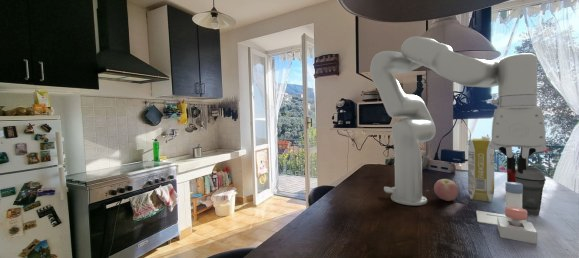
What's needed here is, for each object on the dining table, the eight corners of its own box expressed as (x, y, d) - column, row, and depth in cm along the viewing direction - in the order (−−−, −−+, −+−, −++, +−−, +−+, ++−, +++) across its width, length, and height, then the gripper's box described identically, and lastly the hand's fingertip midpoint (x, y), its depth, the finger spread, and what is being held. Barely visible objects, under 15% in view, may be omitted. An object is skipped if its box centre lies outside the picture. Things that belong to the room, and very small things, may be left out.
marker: (506, 222, 74) (506, 184, 74) (504, 217, 77) (504, 181, 77) (524, 225, 72) (523, 186, 72) (521, 220, 75) (521, 182, 75)
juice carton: (494, 203, 91) (494, 137, 90) (467, 199, 96) (467, 137, 95) (493, 196, 98) (493, 135, 97) (468, 193, 103) (468, 135, 102)
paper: (477, 222, 76) (477, 220, 76) (476, 211, 84) (476, 210, 84) (532, 231, 69) (532, 229, 69) (524, 218, 77) (524, 217, 77)
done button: (506, 229, 67) (506, 210, 66) (504, 223, 70) (504, 205, 70) (528, 232, 64) (528, 213, 64) (525, 226, 68) (525, 208, 67)
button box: (500, 237, 66) (500, 226, 66) (497, 227, 72) (497, 217, 72) (536, 244, 62) (537, 232, 62) (530, 232, 68) (530, 222, 68)
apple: (431, 200, 96) (431, 179, 96) (437, 195, 101) (437, 176, 101) (455, 205, 90) (455, 183, 90) (460, 199, 96) (460, 179, 95)
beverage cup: (535, 219, 77) (535, 154, 76) (508, 210, 84) (509, 151, 83) (551, 216, 78) (552, 152, 78) (524, 208, 86) (524, 149, 85)
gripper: (480, 104, 67) (480, 172, 68) (563, 100, 58) (562, 178, 59) (479, 104, 73) (479, 167, 74) (554, 101, 64) (553, 172, 65)
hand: (516, 171), depth 66 cm, fingers closed
